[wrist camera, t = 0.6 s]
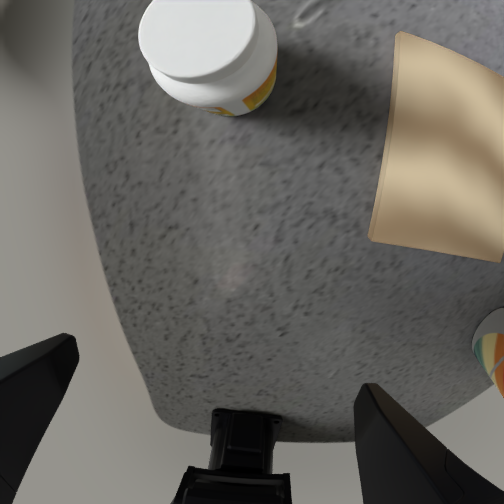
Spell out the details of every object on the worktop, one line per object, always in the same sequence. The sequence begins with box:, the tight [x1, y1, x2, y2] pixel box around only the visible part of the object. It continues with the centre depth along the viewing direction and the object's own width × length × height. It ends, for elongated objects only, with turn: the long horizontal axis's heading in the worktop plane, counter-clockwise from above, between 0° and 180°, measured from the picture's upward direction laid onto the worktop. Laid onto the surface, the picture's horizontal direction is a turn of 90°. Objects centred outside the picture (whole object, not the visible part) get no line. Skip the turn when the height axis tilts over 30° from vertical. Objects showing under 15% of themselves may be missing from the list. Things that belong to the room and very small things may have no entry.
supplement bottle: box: [138, 0, 278, 116], centre depth 12 cm, size 5×5×10 cm
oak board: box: [368, 31, 504, 263], centre depth 17 cm, size 14×12×1 cm
